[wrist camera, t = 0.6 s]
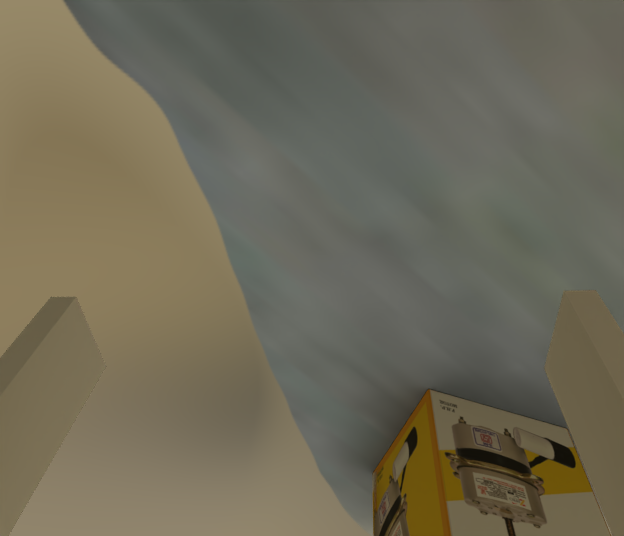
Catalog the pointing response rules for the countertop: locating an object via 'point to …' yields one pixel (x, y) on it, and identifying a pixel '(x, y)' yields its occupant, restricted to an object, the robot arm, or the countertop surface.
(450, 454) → the packaging box
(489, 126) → the countertop surface
